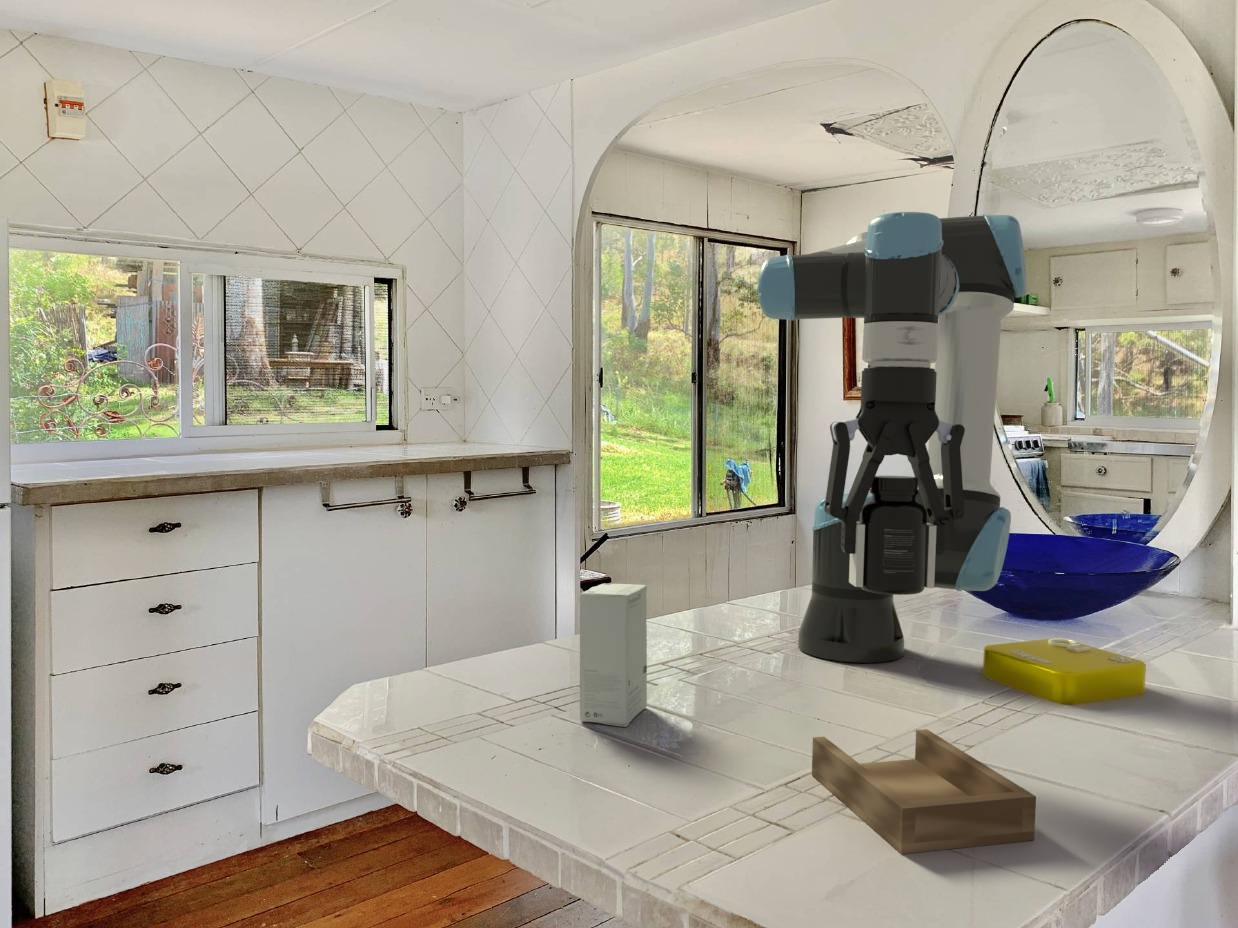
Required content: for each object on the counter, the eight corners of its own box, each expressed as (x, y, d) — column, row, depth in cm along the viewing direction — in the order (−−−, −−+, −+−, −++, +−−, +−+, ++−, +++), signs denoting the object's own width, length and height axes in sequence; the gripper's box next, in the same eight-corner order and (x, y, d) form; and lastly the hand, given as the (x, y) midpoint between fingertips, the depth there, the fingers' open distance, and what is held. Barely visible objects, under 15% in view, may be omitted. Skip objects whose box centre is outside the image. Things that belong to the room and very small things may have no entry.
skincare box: (627, 728, 111) (629, 596, 110) (576, 722, 113) (577, 592, 112) (648, 706, 119) (650, 582, 118) (599, 701, 121) (601, 579, 120)
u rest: (811, 775, 98) (812, 737, 98) (925, 765, 101) (926, 729, 101) (901, 853, 82) (902, 808, 81) (1034, 839, 85) (1036, 796, 84)
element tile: (975, 676, 136) (977, 642, 135) (1058, 666, 142) (1059, 633, 141) (1064, 709, 122) (1066, 670, 122) (1152, 696, 128) (1153, 659, 127)
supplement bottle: (934, 589, 106) (938, 476, 106) (910, 598, 101) (915, 480, 100) (872, 581, 110) (876, 473, 110) (846, 590, 105) (850, 476, 104)
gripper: (813, 362, 100) (805, 590, 102) (1007, 366, 101) (997, 593, 102) (797, 365, 108) (790, 577, 109) (978, 369, 108) (969, 580, 110)
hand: (890, 584), depth 106 cm, fingers closed on supplement bottle, 7 cm apart
